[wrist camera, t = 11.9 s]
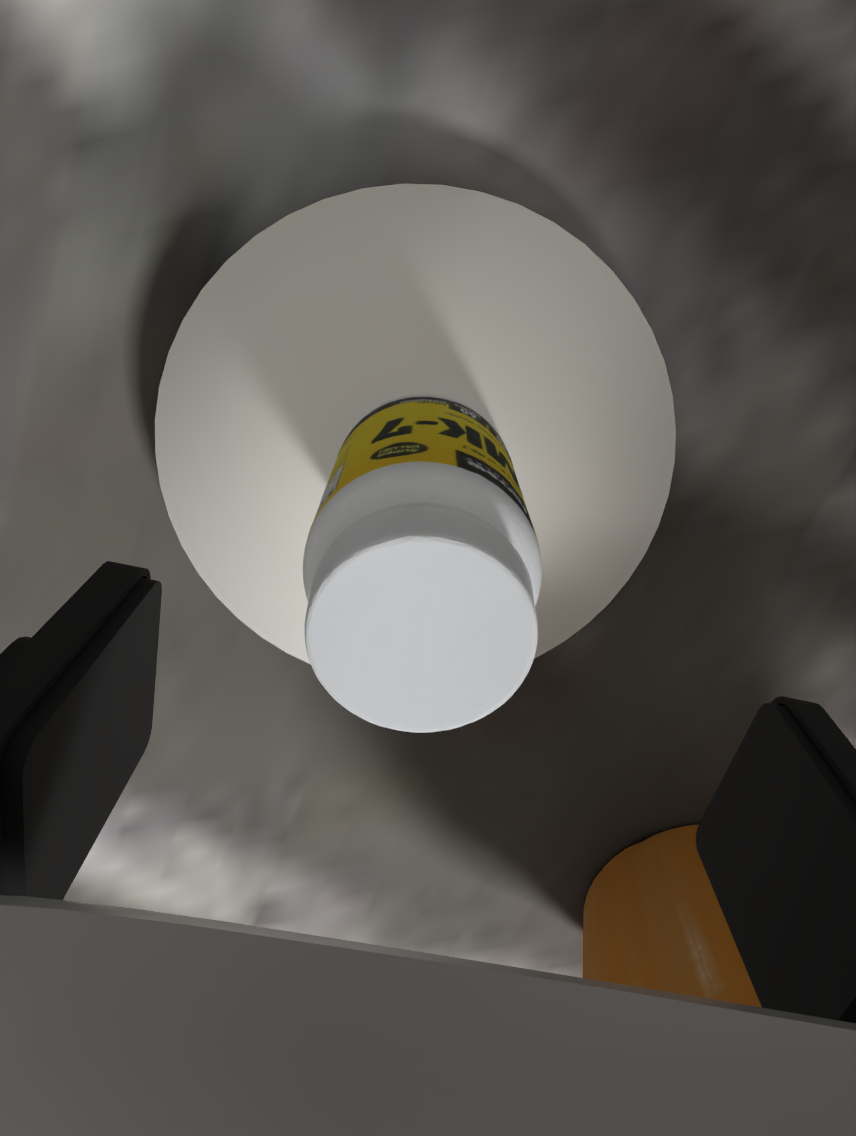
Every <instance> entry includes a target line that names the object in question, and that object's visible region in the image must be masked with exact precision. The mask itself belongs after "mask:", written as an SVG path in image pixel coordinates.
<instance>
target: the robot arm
mask: <svg viewBox="0 0 856 1136" xmlns="http://www.w3.org/2000/svg"><path fill="white" fill-rule="evenodd" d="M161 594H162V586H161V583H160V581H155V580H150V572H149V570H148V569H145V568H140V567H135V566H130V565H125V564H121V563H116V562H111V561H107V562H106V563H104V564H103V565H102V566H101V567H100V568H99V569H98V570H97V571H96V572H95V573H94V574H93V575H92V576H91V577H90V578H89V579H88V580H87V581H86V582H85V583H84V584H83V585H82V586H81V588H80V589H79V590H78V591H77V592H76V593H75V594H74V595H73V596H72V597H71V598H70V599H69V600H68V601H67V602H66V603H65V604H64V605H63V606H62V607H61V608H60V609H59V610H58V611H57V612H56V613H55V614H54V615H53V616H52V617H51V618H50V619H49V620H48V621H47V622H46V623H45V625H44V626H43V627H42V628H41V629H40V630H39V631H38V632H37V633H36V634H35V635H34V636H33V637H32V638H30V637H21V638H18V639H17V640H15V641H14V642H13V643H11V644H10V645H9V646H8V647H7V648H6V649H5V650H4V651H3V652H2V653H1V654H0V1136H856V749H855V748H854V747H853V745H852V744H851V743H850V742H849V740H848V739H847V738H846V737H845V735H844V734H843V733H842V732H841V730H840V729H839V728H838V726H837V725H836V724H835V723H834V721H833V720H832V719H831V718H830V716H829V715H828V714H827V713H826V711H825V710H824V709H823V708H822V707H821V706H820V705H819V704H816V703H812V702H807V701H802V700H797V699H792V698H787V697H782V696H781V697H777V698H776V699H774V700H773V701H772V702H771V703H766V704H764V705H763V706H761V708H760V709H759V710H758V712H757V714H756V716H755V718H754V720H753V722H752V724H751V726H750V728H749V730H748V731H747V733H746V735H745V737H744V739H743V741H742V743H741V745H740V747H739V749H738V751H737V753H736V754H735V756H734V758H733V760H732V762H731V764H730V766H729V768H728V770H727V772H726V774H725V776H724V778H723V779H722V781H721V783H720V785H719V787H718V789H717V791H716V793H715V795H714V797H713V799H712V801H711V802H710V804H709V806H708V808H707V810H706V812H705V814H704V816H703V818H702V820H701V822H700V824H699V826H698V828H697V832H696V848H697V851H698V854H699V856H700V859H701V861H702V863H703V866H704V868H705V871H706V873H707V876H708V878H709V880H710V883H711V885H712V888H713V890H714V893H715V895H716V897H717V900H718V902H719V905H720V907H721V910H722V912H723V914H724V917H725V919H726V922H727V924H728V927H729V929H730V931H731V934H732V936H733V939H734V941H735V944H736V946H737V948H738V951H739V953H740V956H741V958H742V961H743V963H744V965H745V968H746V970H747V973H748V975H749V978H750V980H751V982H752V985H753V987H754V990H755V992H756V994H757V997H758V999H759V1002H760V1004H761V1007H762V1008H760V1007H755V1006H749V1005H743V1004H737V1003H731V1002H725V1001H719V1000H713V999H707V998H701V997H695V996H689V995H683V994H677V993H671V992H665V991H659V990H653V989H647V988H640V987H634V986H628V985H622V984H616V983H610V982H604V981H597V980H591V979H585V978H579V977H573V976H567V975H561V974H554V973H548V972H542V971H536V970H530V969H523V968H517V967H511V966H505V965H498V964H492V963H486V962H480V961H474V960H467V959H461V958H455V957H449V956H442V955H436V954H430V953H423V952H417V951H411V950H404V949H398V948H391V947H385V946H378V945H372V944H366V943H359V942H353V941H346V940H340V939H333V938H327V937H321V936H314V935H308V934H301V933H295V932H288V931H282V930H276V929H269V928H263V927H256V926H250V925H243V924H237V923H230V922H223V921H217V920H210V919H203V918H196V917H189V916H182V915H175V914H168V913H161V912H154V911H147V910H140V909H132V908H124V907H117V906H109V905H101V904H93V903H84V902H75V901H65V900H63V898H64V896H65V895H66V893H67V891H68V889H69V887H70V886H71V884H72V882H73V880H74V878H75V877H76V875H77V873H78V871H79V869H80V867H81V866H82V864H83V862H84V860H85V858H86V857H87V855H88V853H89V851H90V849H91V848H92V846H93V844H94V842H95V840H96V838H97V837H98V835H99V833H100V831H101V829H102V828H103V826H104V824H105V822H106V820H107V819H108V817H109V815H110V813H111V811H112V809H113V808H114V806H115V804H116V802H117V800H118V799H119V797H120V795H121V793H122V791H123V790H124V788H125V786H126V784H127V782H128V781H129V779H130V777H131V775H132V773H133V771H134V770H135V768H136V766H137V764H138V762H139V761H140V759H141V757H142V755H143V753H144V751H145V749H146V747H147V744H148V741H149V738H150V734H151V729H152V718H153V704H154V690H155V677H156V663H157V649H158V635H159V621H160V608H161Z"/></svg>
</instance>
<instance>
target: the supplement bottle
mask: <svg viewBox="0 0 856 1136" xmlns="http://www.w3.org/2000/svg"><path fill="white" fill-rule="evenodd" d="M541 578H542V563H541V552H540V548H539V543H538V539H537V536H536V533H535V530H534V527H533V525H532V522H531V519H530V516H529V513H528V510H527V507H526V504H525V501H524V498H523V494H522V492H521V489H520V486H519V483H518V480H517V477H516V474H515V471H514V467H513V464H512V460H511V458H510V455H509V453H508V451H507V449H506V446H505V444H504V442H503V441H502V439H501V437H500V435H499V434H498V432H497V431H496V430H495V428H494V427H493V426H492V425H491V423H490V422H489V421H488V420H487V419H485V418H484V417H483V416H482V415H481V414H480V413H478V412H477V411H476V410H474V409H472V408H471V407H469V406H467V405H466V404H464V403H461V402H459V401H456V400H453V399H450V398H446V397H442V396H435V395H411V396H404V397H400V398H396V399H393V400H390V401H388V402H385V403H383V404H381V405H379V406H378V407H376V408H374V409H373V410H371V411H370V412H369V413H367V414H366V415H365V416H364V417H363V418H361V419H360V421H359V422H358V423H357V424H356V425H355V426H354V427H353V428H352V430H351V431H350V433H349V434H348V435H347V437H346V439H345V441H344V443H343V445H342V447H341V449H340V451H339V454H338V457H337V460H336V462H335V465H334V467H333V470H332V472H331V475H330V478H329V480H328V483H327V486H326V488H325V491H324V493H323V496H322V499H321V502H320V504H319V507H318V510H317V513H316V516H315V518H314V521H313V523H312V525H311V528H310V531H309V534H308V537H307V541H306V546H305V550H304V558H303V582H304V588H305V593H306V597H307V601H308V606H307V612H306V617H305V627H304V629H305V644H306V649H307V654H308V657H309V660H310V663H311V666H312V668H313V670H314V672H315V674H316V676H317V678H318V680H319V681H320V683H321V684H322V685H323V687H324V688H325V689H326V690H327V692H328V693H329V694H330V695H331V696H332V697H333V698H334V699H335V700H336V701H337V702H338V703H339V704H341V705H342V706H343V707H344V708H346V709H347V710H349V711H350V712H351V713H353V714H355V715H357V716H358V717H360V718H362V719H364V720H366V721H368V722H370V723H373V724H375V725H378V726H381V727H386V728H390V729H394V730H398V731H405V732H417V733H427V732H437V731H444V730H450V729H454V728H458V727H461V726H464V725H466V724H469V723H472V722H475V721H477V720H479V719H481V718H483V717H485V716H486V715H488V714H490V713H491V712H493V711H494V710H496V709H497V708H499V707H500V706H501V705H503V704H504V703H505V702H506V701H507V700H508V699H509V698H510V697H511V696H512V695H513V694H514V693H515V691H516V690H517V689H518V688H519V686H520V685H521V684H522V682H523V680H524V679H525V677H526V675H527V674H528V672H529V670H530V668H531V665H532V663H533V660H534V657H535V653H536V648H537V642H538V621H537V614H536V609H535V606H536V603H537V600H538V597H539V593H540V587H541Z"/></svg>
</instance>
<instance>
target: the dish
mask: <svg viewBox="0 0 856 1136" xmlns="http://www.w3.org/2000/svg"><path fill="white" fill-rule="evenodd" d="M411 395H435V396H442V397H446V398H450V399H453V400H456V401H459V402H461V403H464V404H466V405H467V406H469V407H471V408H472V409H474V410H476V411H477V412H478V413H480V414H481V415H482V416H483V417H484V418H485V419H487V420H488V421H489V422H490V423H491V425H492V426H493V427H494V428H495V430H496V431H497V432H498V434H499V435H500V437H501V439H502V441H503V442H504V444H505V446H506V449H507V451H508V453H509V455H510V458H511V460H512V464H513V467H514V471H515V474H516V477H517V480H518V483H519V486H520V489H521V492H522V494H523V498H524V501H525V504H526V507H527V510H528V513H529V516H530V519H531V522H532V525H533V527H534V530H535V533H536V536H537V539H538V543H539V548H540V552H541V563H542V578H541V587H540V593H539V597H538V600H537V603H536V606H535V609H536V614H537V621H538V642H537V648H536V653H535V657H534V658H536V657H539V656H540V655H542V654H544V653H545V652H547V651H549V650H551V649H552V648H554V647H556V646H557V645H559V644H561V643H562V642H564V641H566V640H567V639H568V638H570V637H571V636H572V635H573V634H575V633H576V632H577V631H579V630H580V629H581V628H583V627H584V626H585V625H587V624H588V623H589V622H590V621H591V620H592V619H593V618H594V617H595V616H596V615H597V614H599V613H600V612H601V611H602V610H603V609H604V608H605V607H606V606H607V605H608V604H609V603H610V602H611V601H612V599H613V598H614V597H615V596H616V595H617V593H618V592H619V591H620V590H621V589H622V587H623V586H624V585H625V584H626V582H627V581H628V580H629V579H630V577H631V576H632V574H633V572H634V571H635V569H636V568H637V566H638V565H639V563H640V561H641V560H642V558H643V557H644V555H645V554H646V551H647V549H648V547H649V545H650V543H651V541H652V539H653V537H654V535H655V533H656V530H657V528H658V526H659V523H660V520H661V517H662V514H663V511H664V508H665V505H666V502H667V499H668V496H669V491H670V485H671V480H672V475H673V469H674V464H675V443H676V424H675V413H674V401H673V395H672V390H671V386H670V382H669V377H668V373H667V369H666V364H665V362H664V359H663V357H662V354H661V351H660V349H659V346H658V344H657V341H656V338H655V336H654V333H653V331H652V329H651V327H650V326H649V324H648V322H647V320H646V318H645V317H644V315H643V313H642V311H641V310H640V308H639V306H638V304H637V303H636V301H635V299H634V298H633V297H632V295H631V294H630V293H629V291H628V290H627V289H626V288H625V286H624V285H623V284H622V282H621V281H620V280H619V279H618V277H617V276H616V275H615V273H614V272H613V271H612V270H611V269H610V268H609V267H608V266H607V265H606V264H605V263H604V262H603V261H602V260H601V259H600V258H599V257H598V256H597V255H596V254H595V253H594V252H593V251H591V250H590V249H589V248H588V247H587V246H586V245H585V244H584V243H582V242H581V241H580V240H578V239H577V238H575V237H574V236H573V235H571V234H570V233H568V232H567V231H566V230H564V229H563V228H561V227H560V226H559V225H557V224H556V223H554V222H553V221H551V220H549V219H547V218H545V217H543V216H541V215H539V214H537V213H535V212H533V211H531V210H529V209H527V208H525V207H523V206H521V205H519V204H517V203H514V202H511V201H508V200H505V199H502V198H499V197H496V196H493V195H490V194H487V193H484V192H480V191H475V190H469V189H463V188H458V187H452V186H447V185H435V184H394V185H386V186H378V187H369V188H362V189H358V190H355V191H351V192H347V193H344V194H340V195H336V196H333V197H329V198H325V199H323V200H320V201H318V202H316V203H314V204H311V205H309V206H307V207H305V208H302V209H300V210H298V211H296V212H293V213H291V214H289V215H287V216H285V217H284V218H282V219H281V220H279V221H278V222H276V223H274V224H273V225H271V226H270V227H268V228H267V229H265V230H263V231H262V232H260V233H259V234H257V235H255V236H254V237H253V238H252V239H251V240H250V241H249V242H247V243H246V244H245V245H244V246H243V247H242V248H240V249H239V250H238V251H237V252H236V253H235V254H234V255H232V256H231V257H230V258H229V259H228V260H227V261H226V262H225V263H224V264H223V265H222V266H221V268H220V269H219V270H218V271H217V272H216V273H215V275H214V276H213V277H212V278H211V279H210V280H209V282H208V283H207V284H206V285H205V286H204V287H203V289H202V290H201V292H200V293H199V295H198V297H197V298H196V300H195V301H194V303H193V304H192V306H191V308H190V309H189V311H188V312H187V314H186V316H185V317H184V319H183V321H182V323H181V325H180V327H179V330H178V332H177V334H176V337H175V339H174V341H173V343H172V346H171V348H170V350H169V353H168V356H167V360H166V363H165V367H164V371H163V374H162V378H161V381H160V385H159V392H158V399H157V407H156V415H155V455H156V462H157V468H158V475H159V482H160V487H161V491H162V494H163V498H164V501H165V504H166V508H167V511H168V515H169V518H170V520H171V522H172V525H173V527H174V529H175V531H176V534H177V536H178V538H179V541H180V543H181V545H182V547H183V549H184V550H185V552H186V554H187V555H188V557H189V559H190V560H191V562H192V564H193V565H194V567H195V569H196V570H197V572H198V574H199V575H200V576H201V577H202V579H203V580H204V581H205V583H206V584H207V585H208V586H209V588H210V589H211V590H212V592H213V593H214V594H215V595H216V597H217V598H218V599H219V600H220V601H221V602H222V603H223V604H224V605H225V606H226V607H227V608H228V609H229V610H230V611H231V612H232V613H233V614H234V615H235V616H236V617H237V618H238V619H239V620H241V621H242V622H243V623H244V624H246V625H247V626H248V627H249V628H251V629H252V630H253V631H254V632H256V633H257V634H258V635H259V636H261V637H262V638H264V639H265V640H267V641H269V642H270V643H272V644H273V645H275V646H277V647H278V648H280V649H281V650H283V651H284V652H286V653H288V654H290V655H292V656H294V657H296V658H298V659H301V660H303V661H305V662H307V663H309V664H311V663H310V660H309V657H308V654H307V649H306V644H305V629H304V627H305V617H306V612H307V606H308V601H307V597H306V593H305V588H304V582H303V558H304V550H305V546H306V541H307V537H308V534H309V531H310V528H311V525H312V523H313V521H314V518H315V516H316V513H317V510H318V507H319V504H320V502H321V499H322V496H323V493H324V491H325V488H326V486H327V483H328V480H329V478H330V475H331V472H332V470H333V467H334V465H335V462H336V460H337V457H338V454H339V451H340V449H341V447H342V445H343V443H344V441H345V439H346V437H347V435H348V434H349V433H350V431H351V430H352V428H353V427H354V426H355V425H356V424H357V423H358V422H359V421H360V419H361V418H363V417H364V416H365V415H366V414H367V413H369V412H370V411H371V410H373V409H374V408H376V407H378V406H379V405H381V404H383V403H385V402H388V401H390V400H393V399H396V398H400V397H404V396H411Z"/></svg>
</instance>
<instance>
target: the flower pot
mask: <svg viewBox="0 0 856 1136" xmlns="http://www.w3.org/2000/svg"><path fill="white" fill-rule="evenodd" d="M698 826H699V824H697V825H688V826H682V827H678V828H674V829H670V830H666V831H664V832H661V833H658V834H655V835H653V836H652V837H650V838H648V839H646V840H644V841H642V842H640V843H638V844H635V845H632V846H630V847H628V848H626V849H624V850H623V851H622V852H620V853H619V854H618V855H616V856H615V857H614V858H612V859H611V860H610V861H609V862H608V863H607V864H606V865H605V867H604V868H603V869H602V870H601V871H600V872H599V874H598V875H597V876H596V878H595V879H594V881H593V882H592V884H591V886H590V888H589V890H588V893H587V896H586V900H585V904H584V912H583V978H585V979H591V980H597V981H604V982H610V983H616V984H622V985H628V986H634V987H640V988H647V989H653V990H659V991H665V992H671V993H677V994H683V995H689V996H695V997H701V998H707V999H713V1000H719V1001H725V1002H731V1003H737V1004H743V1005H749V1006H755V1007H760V1008H762V1007H761V1004H760V1002H759V999H758V997H757V994H756V992H755V990H754V987H753V985H752V982H751V980H750V978H749V975H748V973H747V970H746V968H745V965H744V963H743V961H742V958H741V956H740V953H739V951H738V948H737V946H736V944H735V941H734V939H733V936H732V934H731V931H730V929H729V927H728V924H727V922H726V919H725V917H724V914H723V912H722V910H721V907H720V905H719V902H718V900H717V897H716V895H715V893H714V890H713V888H712V885H711V883H710V880H709V878H708V876H707V873H706V871H705V868H704V866H703V863H702V861H701V859H700V856H699V854H698V851H697V848H696V832H697V828H698Z"/></svg>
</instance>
